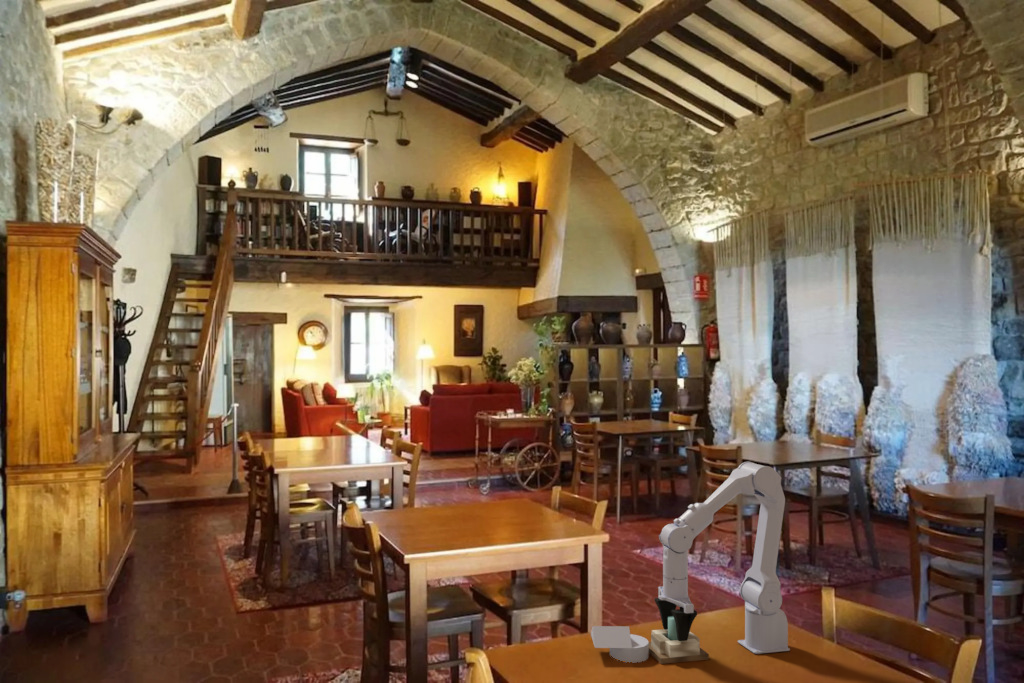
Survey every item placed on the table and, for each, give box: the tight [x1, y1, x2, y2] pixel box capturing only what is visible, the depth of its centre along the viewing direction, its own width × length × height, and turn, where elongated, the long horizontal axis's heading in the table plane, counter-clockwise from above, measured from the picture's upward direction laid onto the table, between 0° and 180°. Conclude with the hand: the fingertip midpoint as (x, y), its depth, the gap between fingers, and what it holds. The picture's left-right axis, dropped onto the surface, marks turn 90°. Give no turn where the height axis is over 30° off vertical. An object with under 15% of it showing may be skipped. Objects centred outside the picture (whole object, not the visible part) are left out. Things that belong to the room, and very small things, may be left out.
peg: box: [668, 616, 678, 641], centre depth 180 cm, size 4×4×7 cm
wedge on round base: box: [590, 625, 650, 664], centre depth 179 cm, size 9×7×13 cm
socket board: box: [648, 628, 710, 665], centre depth 180 cm, size 12×10×4 cm
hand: (675, 634), depth 180 cm, fingers open, 7 cm apart
